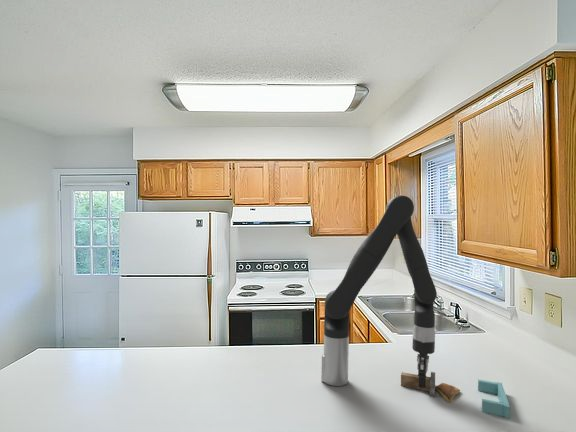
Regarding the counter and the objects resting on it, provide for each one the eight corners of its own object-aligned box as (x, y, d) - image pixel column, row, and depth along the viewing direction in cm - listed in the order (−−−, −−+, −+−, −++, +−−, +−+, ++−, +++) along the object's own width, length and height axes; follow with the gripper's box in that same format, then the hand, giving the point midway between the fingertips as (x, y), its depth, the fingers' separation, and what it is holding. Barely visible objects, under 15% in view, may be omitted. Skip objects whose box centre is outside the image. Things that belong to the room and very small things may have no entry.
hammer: (399, 390, 130) (399, 377, 130) (402, 378, 140) (402, 366, 140) (434, 396, 126) (434, 383, 126) (435, 384, 135) (435, 372, 135)
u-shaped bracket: (482, 412, 116) (482, 401, 116) (477, 388, 133) (478, 378, 133) (509, 418, 113) (509, 406, 113) (501, 392, 130) (501, 382, 130)
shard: (449, 404, 122) (449, 399, 122) (427, 396, 127) (427, 391, 127) (461, 393, 130) (461, 388, 130) (439, 386, 135) (439, 381, 135)
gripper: (414, 330, 140) (412, 375, 140) (411, 341, 127) (409, 391, 127) (435, 333, 137) (433, 379, 137) (434, 345, 124) (432, 396, 124)
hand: (422, 385), depth 132 cm, fingers closed on hammer, 2 cm apart
